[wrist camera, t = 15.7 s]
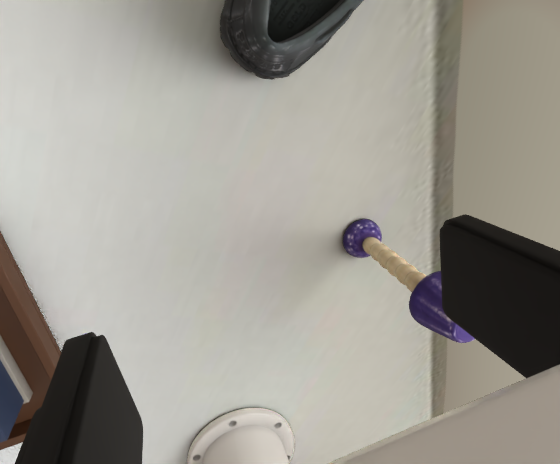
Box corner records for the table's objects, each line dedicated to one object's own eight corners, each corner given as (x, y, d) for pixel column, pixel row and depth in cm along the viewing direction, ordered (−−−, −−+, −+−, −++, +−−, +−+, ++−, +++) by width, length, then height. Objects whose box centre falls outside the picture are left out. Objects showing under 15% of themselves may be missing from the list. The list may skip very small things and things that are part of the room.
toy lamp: (372, 261, 43) (488, 353, 28) (334, 259, 42) (435, 355, 26) (382, 219, 42) (511, 292, 27) (343, 216, 40) (455, 291, 25)
